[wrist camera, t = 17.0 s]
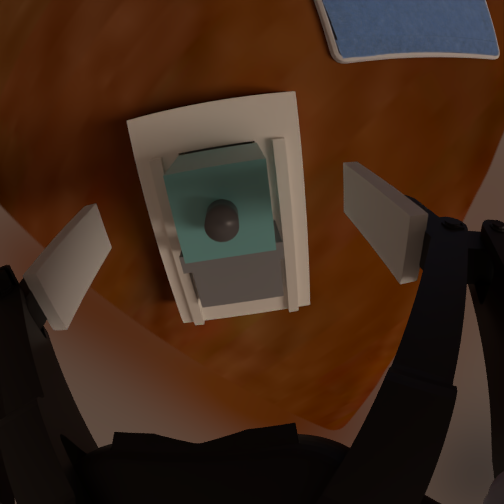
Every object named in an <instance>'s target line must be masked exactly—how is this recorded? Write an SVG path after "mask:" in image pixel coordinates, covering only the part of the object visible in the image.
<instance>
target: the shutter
mask: <svg viewBox="0 0 504 504" xmlns="http://www.w3.org/2000/svg"><path fill="white" fill-rule="evenodd" d="M273 223H274V233H275V242H276V250H273V251H266V252H260V253H253V254H246V255H240V256H233V257H226V258H220V259H213V260H206V261H200V262H193V263H186V264H185V261H184V257H183V254H182V250H181V252H180V256H179V259H180V263H181V266H182V270H183V273H184V274H186V273H193V276H194V280H195V284H196V287H197V291H198V294H199V298H200V301H201V305H202V308H203V307H211V306H219V305H226V304H233V303H240V302H247V301H254V300H261V299H267V298H274V297H280V296H284V293H283V283H282V272H281V261H280V259H284V252H283V242H282V239H281V236H280V233H279V230H278V227H277V225H276V222H275V220H273Z"/></svg>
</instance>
